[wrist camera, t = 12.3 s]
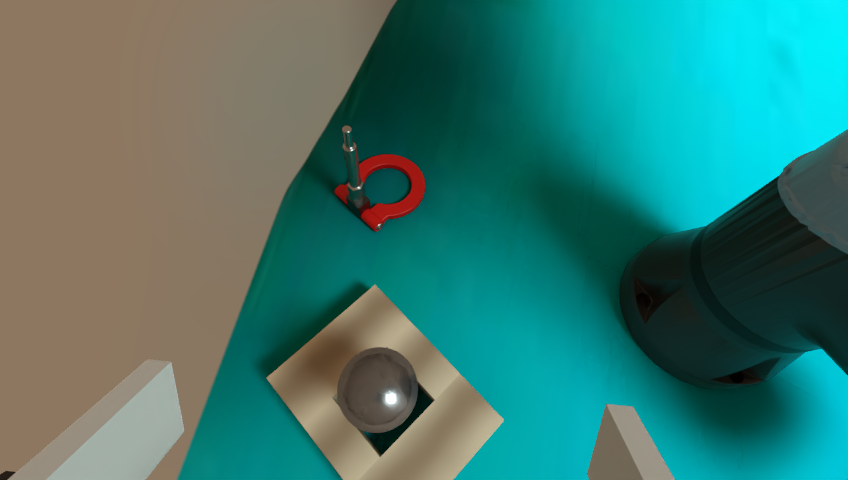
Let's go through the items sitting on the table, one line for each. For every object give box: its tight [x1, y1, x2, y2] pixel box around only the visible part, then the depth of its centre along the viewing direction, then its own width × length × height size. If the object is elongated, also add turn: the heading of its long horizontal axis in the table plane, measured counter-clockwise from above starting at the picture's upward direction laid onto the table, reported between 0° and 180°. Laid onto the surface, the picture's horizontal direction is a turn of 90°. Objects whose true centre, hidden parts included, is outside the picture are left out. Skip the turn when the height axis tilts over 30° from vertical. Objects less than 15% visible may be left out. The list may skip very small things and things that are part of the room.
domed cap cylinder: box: [337, 347, 418, 433], centre depth 31 cm, size 5×5×11 cm
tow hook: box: [335, 126, 425, 231], centre depth 40 cm, size 8×13×9 cm
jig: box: [267, 285, 504, 480], centre depth 34 cm, size 16×12×3 cm
